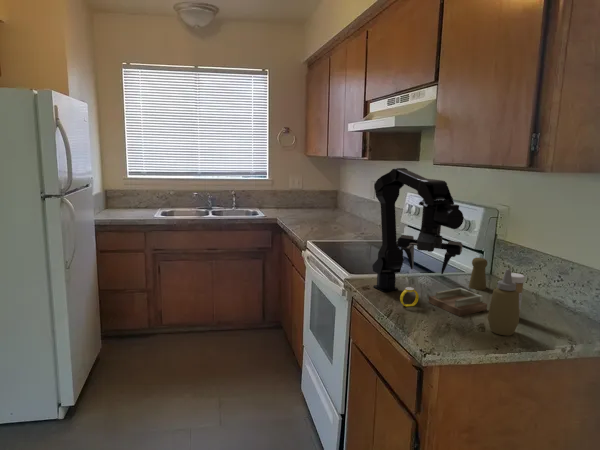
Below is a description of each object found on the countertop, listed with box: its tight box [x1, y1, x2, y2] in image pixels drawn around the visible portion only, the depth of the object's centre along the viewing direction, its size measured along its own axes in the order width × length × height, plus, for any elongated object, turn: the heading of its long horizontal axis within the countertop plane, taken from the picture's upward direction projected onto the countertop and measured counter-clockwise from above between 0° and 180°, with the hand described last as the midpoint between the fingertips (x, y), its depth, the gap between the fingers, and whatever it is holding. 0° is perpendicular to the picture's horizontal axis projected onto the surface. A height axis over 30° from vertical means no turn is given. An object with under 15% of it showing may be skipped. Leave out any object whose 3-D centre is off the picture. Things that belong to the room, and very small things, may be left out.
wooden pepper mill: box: [468, 257, 488, 291], centre depth 163 cm, size 6×6×11 cm
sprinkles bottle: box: [511, 272, 525, 319], centre depth 135 cm, size 5×5×13 cm
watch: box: [399, 286, 420, 308], centre depth 144 cm, size 6×3×6 cm, turn 106°
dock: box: [428, 287, 488, 317], centre depth 144 cm, size 13×12×4 cm
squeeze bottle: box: [487, 268, 520, 337], centre depth 124 cm, size 8×8×18 cm
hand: (426, 271), depth 139 cm, fingers open, 9 cm apart
